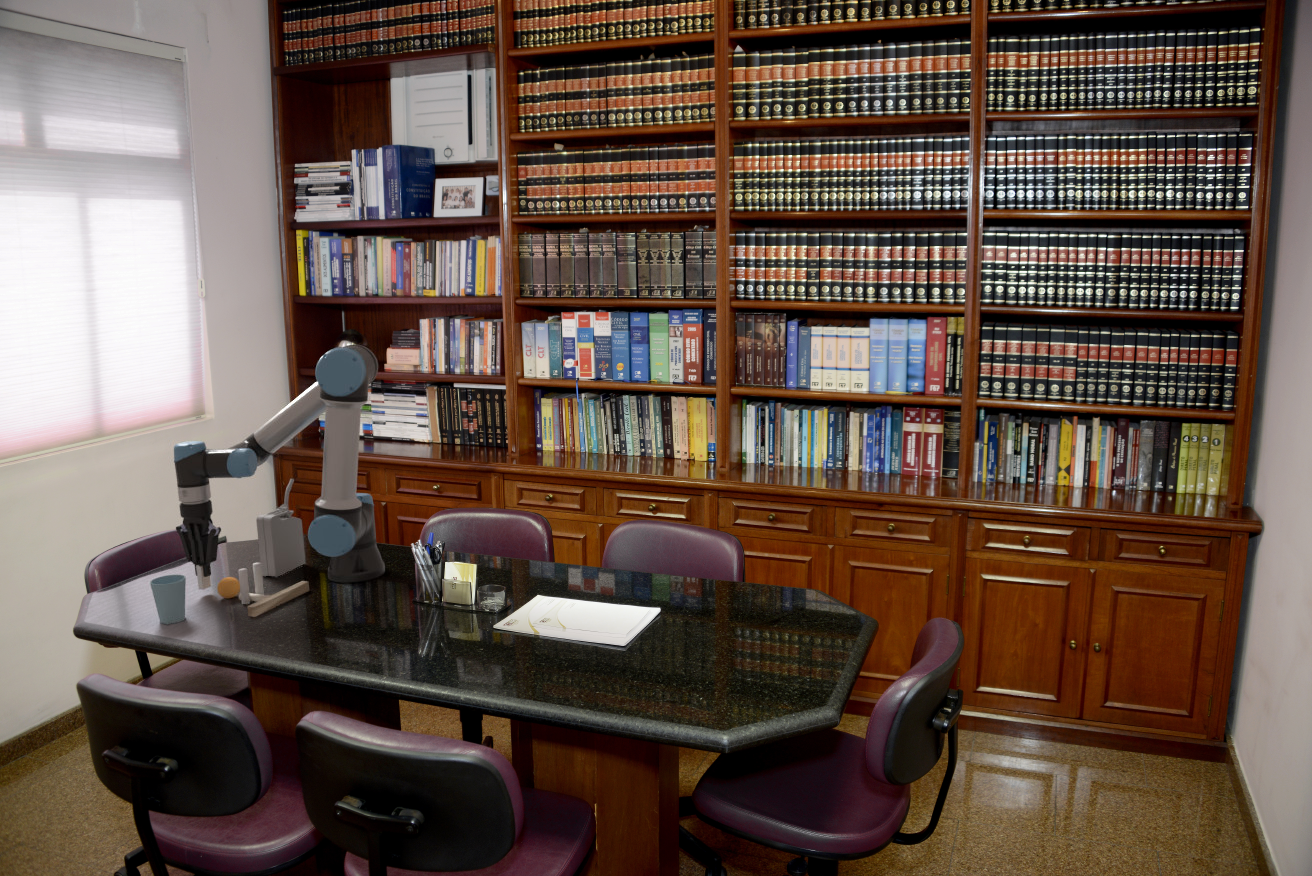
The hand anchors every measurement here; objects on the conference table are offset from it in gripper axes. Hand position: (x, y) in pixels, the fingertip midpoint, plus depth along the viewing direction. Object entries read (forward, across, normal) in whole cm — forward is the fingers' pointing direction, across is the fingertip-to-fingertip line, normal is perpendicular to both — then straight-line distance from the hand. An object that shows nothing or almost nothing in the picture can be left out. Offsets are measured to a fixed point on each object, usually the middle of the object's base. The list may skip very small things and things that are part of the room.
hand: (204, 587), depth 245 cm
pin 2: (+2, +16, +2) cm, 16 cm away
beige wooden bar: (+2, +24, 0) cm, 24 cm away
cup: (+2, +6, -17) cm, 19 cm away
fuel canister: (+2, +6, +24) cm, 25 cm away
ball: (-1, +8, 0) cm, 8 cm away
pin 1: (+2, +16, -2) cm, 16 cm away
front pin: (+1, +12, 0) cm, 12 cm away
